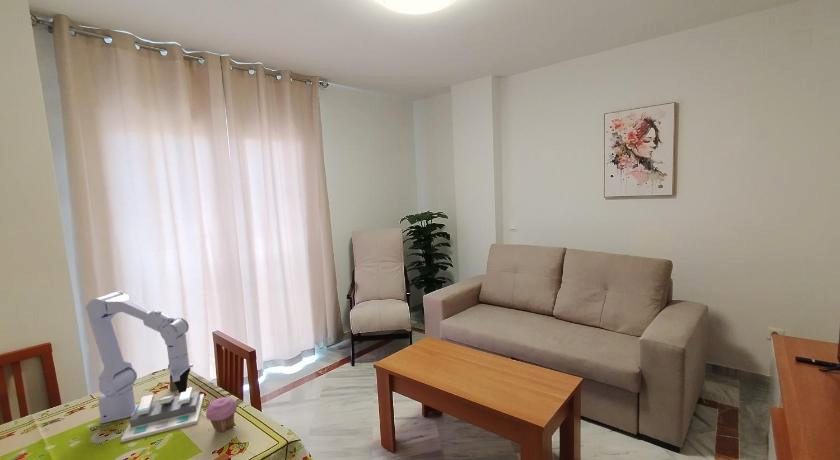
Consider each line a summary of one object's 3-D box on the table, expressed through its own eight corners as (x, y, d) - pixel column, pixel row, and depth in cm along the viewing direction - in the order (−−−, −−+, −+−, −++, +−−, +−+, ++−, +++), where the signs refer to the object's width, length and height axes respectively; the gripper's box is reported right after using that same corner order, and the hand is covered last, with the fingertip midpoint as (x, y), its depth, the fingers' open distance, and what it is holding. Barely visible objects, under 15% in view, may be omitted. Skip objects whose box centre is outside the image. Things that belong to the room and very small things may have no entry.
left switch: (137, 418, 126) (136, 412, 125) (143, 401, 133) (142, 396, 132) (149, 415, 127) (147, 409, 126) (154, 399, 134) (153, 394, 133)
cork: (178, 391, 147) (175, 365, 146) (165, 390, 148) (162, 364, 147) (190, 383, 153) (187, 358, 152) (178, 382, 154) (175, 357, 153)
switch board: (121, 442, 118) (119, 432, 118) (137, 411, 135) (136, 402, 134) (197, 423, 127) (196, 413, 126) (204, 396, 143) (203, 387, 143)
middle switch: (157, 407, 127) (157, 400, 128) (163, 403, 135) (163, 396, 135) (168, 405, 129) (168, 398, 129) (174, 401, 136) (173, 394, 136)
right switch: (179, 407, 130) (178, 401, 130) (182, 394, 137) (182, 388, 137) (189, 404, 131) (188, 398, 131) (192, 392, 139) (192, 386, 138)
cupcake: (223, 438, 118) (219, 409, 117) (202, 434, 121) (198, 405, 119) (244, 421, 126) (241, 394, 125) (224, 417, 129) (221, 390, 128)
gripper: (188, 360, 124) (192, 398, 126) (194, 344, 137) (198, 378, 139) (162, 365, 121) (167, 404, 123) (172, 348, 134) (176, 383, 136)
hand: (182, 391), depth 131 cm, fingers closed
